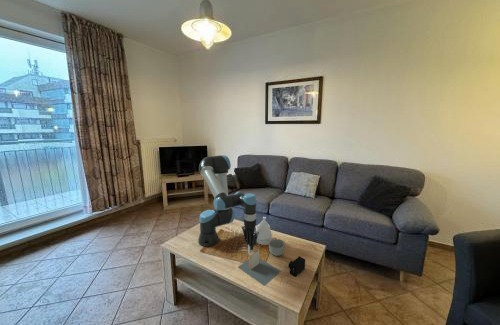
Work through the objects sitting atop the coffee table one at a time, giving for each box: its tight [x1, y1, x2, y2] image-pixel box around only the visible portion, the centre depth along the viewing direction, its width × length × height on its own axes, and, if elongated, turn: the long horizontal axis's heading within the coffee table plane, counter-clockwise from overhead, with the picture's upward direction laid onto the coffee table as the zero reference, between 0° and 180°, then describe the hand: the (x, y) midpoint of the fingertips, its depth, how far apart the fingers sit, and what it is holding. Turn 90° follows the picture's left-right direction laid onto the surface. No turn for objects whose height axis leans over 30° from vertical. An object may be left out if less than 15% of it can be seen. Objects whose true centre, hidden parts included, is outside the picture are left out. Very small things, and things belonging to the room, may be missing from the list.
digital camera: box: [288, 256, 306, 278], centre depth 127 cm, size 10×5×7 cm, turn 134°
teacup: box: [268, 237, 285, 257], centre depth 145 cm, size 14×11×8 cm
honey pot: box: [256, 216, 273, 246], centre depth 159 cm, size 13×13×18 cm
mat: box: [237, 258, 282, 286], centre depth 128 cm, size 22×16×1 cm
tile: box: [248, 248, 261, 270], centre depth 130 cm, size 2×8×10 cm, turn 136°
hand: (250, 253), depth 132 cm, fingers closed
